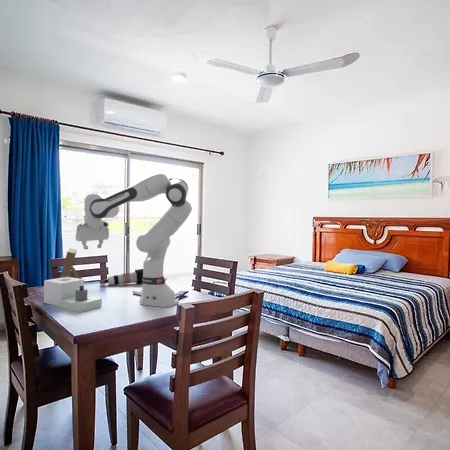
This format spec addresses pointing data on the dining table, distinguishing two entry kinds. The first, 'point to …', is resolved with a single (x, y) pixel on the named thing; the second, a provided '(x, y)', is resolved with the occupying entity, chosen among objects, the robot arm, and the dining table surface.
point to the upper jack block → (61, 289)
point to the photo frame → (69, 265)
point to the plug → (81, 294)
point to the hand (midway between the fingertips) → (92, 248)
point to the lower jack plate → (80, 304)
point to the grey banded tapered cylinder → (125, 278)
